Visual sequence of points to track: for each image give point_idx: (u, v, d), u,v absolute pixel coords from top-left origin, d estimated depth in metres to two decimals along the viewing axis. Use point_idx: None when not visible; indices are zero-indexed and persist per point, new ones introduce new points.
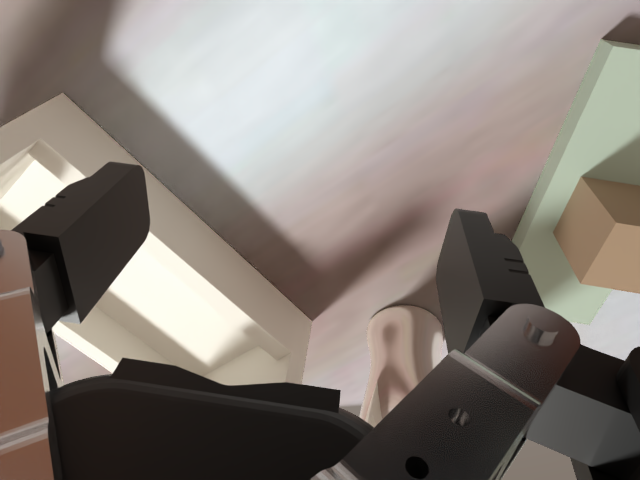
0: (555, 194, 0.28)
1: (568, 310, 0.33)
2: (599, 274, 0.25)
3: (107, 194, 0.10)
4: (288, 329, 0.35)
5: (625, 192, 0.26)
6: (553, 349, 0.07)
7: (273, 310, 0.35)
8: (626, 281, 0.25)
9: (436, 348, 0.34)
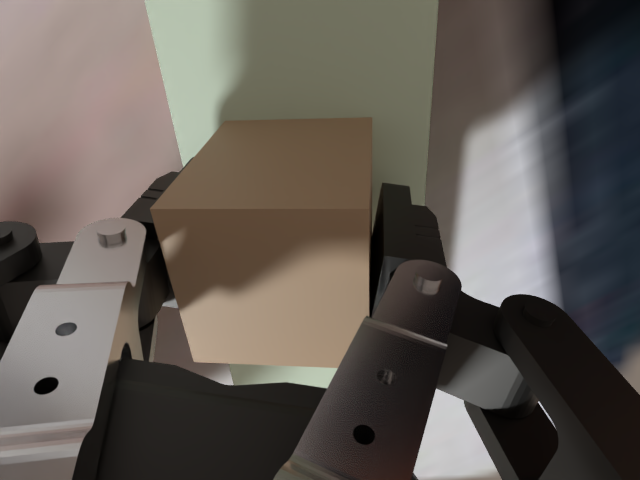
0: None
1: None
2: (215, 337, 0.10)
3: None
4: None
5: (292, 135, 0.11)
6: (433, 295, 0.08)
7: None
8: (284, 345, 0.10)
9: None
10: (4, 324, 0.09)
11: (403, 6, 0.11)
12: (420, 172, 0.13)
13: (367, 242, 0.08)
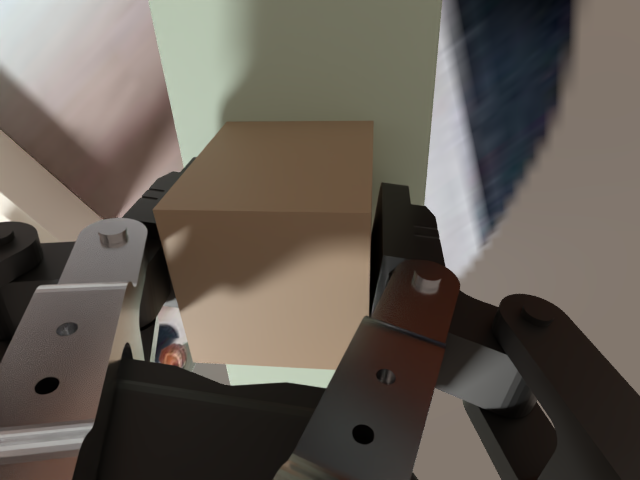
0: None
1: None
2: (215, 337, 0.10)
3: None
4: (67, 223, 0.34)
5: (293, 137, 0.11)
6: (432, 295, 0.08)
7: (50, 202, 0.34)
8: (284, 346, 0.10)
9: None
10: (5, 324, 0.09)
11: (406, 11, 0.11)
12: (420, 176, 0.13)
13: (368, 246, 0.09)
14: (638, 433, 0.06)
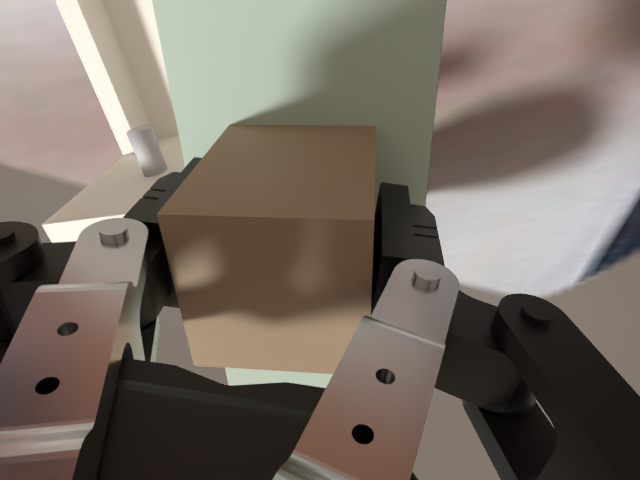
0: None
1: None
2: (216, 341, 0.10)
3: None
4: None
5: (296, 142, 0.12)
6: (431, 295, 0.08)
7: None
8: (285, 351, 0.10)
9: None
10: (6, 324, 0.09)
11: (410, 18, 0.11)
12: (421, 181, 0.13)
13: (371, 252, 0.09)
14: (637, 433, 0.06)
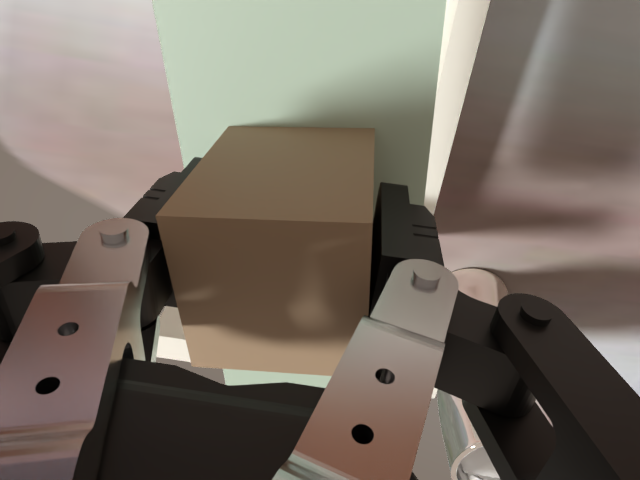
0: None
1: None
2: (214, 343, 0.10)
3: None
4: None
5: (296, 144, 0.12)
6: (430, 295, 0.08)
7: None
8: (283, 352, 0.10)
9: None
10: (7, 324, 0.09)
11: (409, 21, 0.11)
12: (420, 183, 0.13)
13: (369, 255, 0.09)
14: (637, 432, 0.06)
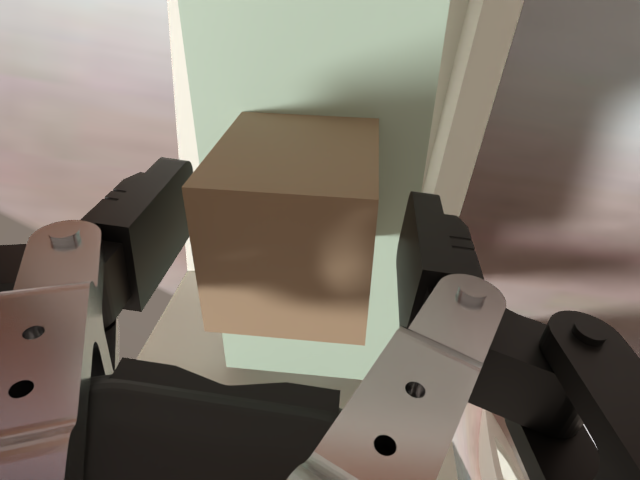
0: None
1: (347, 361, 0.19)
2: (227, 309, 0.11)
3: (165, 188, 0.11)
4: None
5: (306, 130, 0.12)
6: (479, 312, 0.08)
7: None
8: (290, 319, 0.11)
9: None
10: None
11: (415, 20, 0.12)
12: (418, 172, 0.14)
13: (374, 229, 0.10)
14: None
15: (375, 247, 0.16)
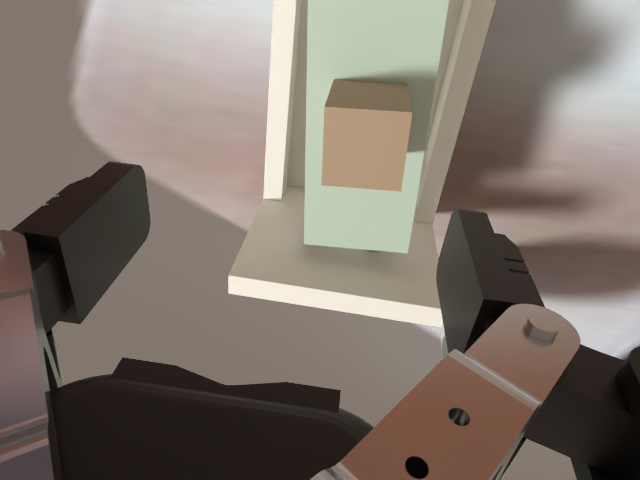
0: (316, 103, 0.26)
1: (380, 238, 0.31)
2: (335, 171, 0.23)
3: (107, 194, 0.10)
4: None
5: (370, 87, 0.24)
6: (553, 349, 0.07)
7: None
8: (365, 177, 0.23)
9: None
10: None
11: (428, 32, 0.24)
12: (427, 114, 0.26)
13: (409, 127, 0.21)
14: None
15: None
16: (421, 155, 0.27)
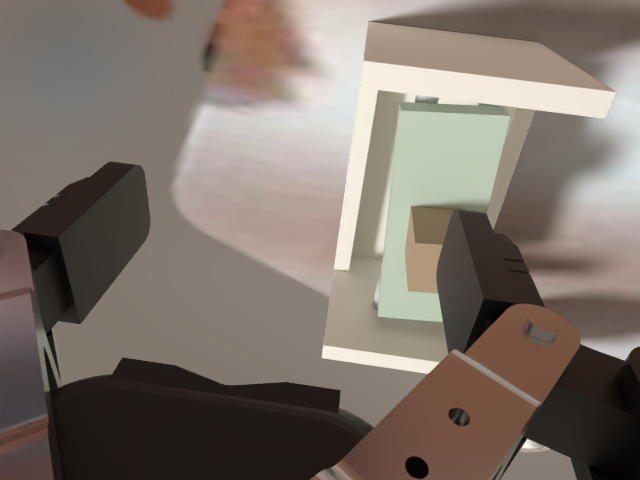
0: (396, 221, 0.35)
1: (439, 312, 0.39)
2: (419, 282, 0.32)
3: (107, 194, 0.10)
4: None
5: (441, 216, 0.33)
6: (553, 349, 0.07)
7: None
8: None
9: None
10: None
11: (483, 177, 0.33)
12: None
13: None
14: None
15: None
16: None
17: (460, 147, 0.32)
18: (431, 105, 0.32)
